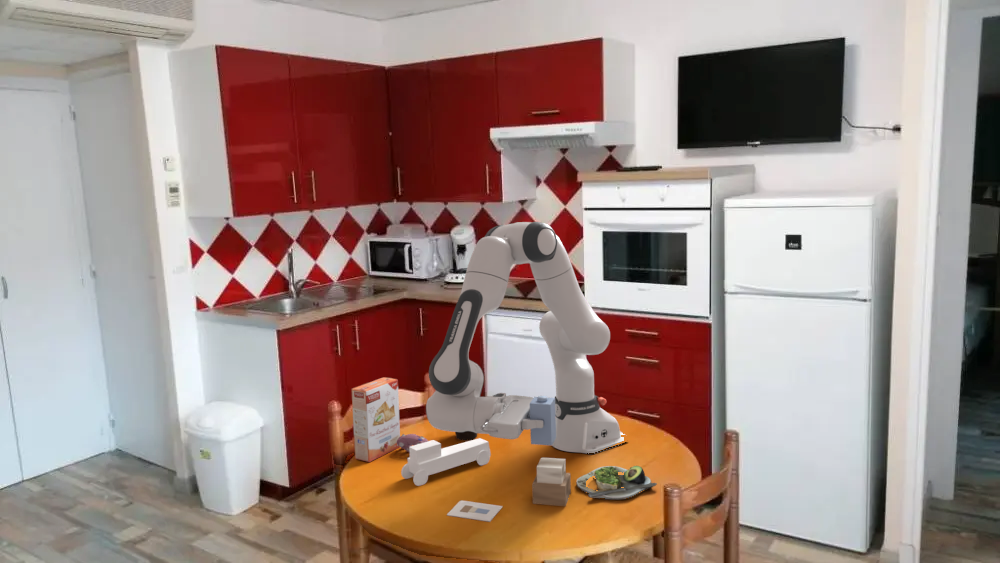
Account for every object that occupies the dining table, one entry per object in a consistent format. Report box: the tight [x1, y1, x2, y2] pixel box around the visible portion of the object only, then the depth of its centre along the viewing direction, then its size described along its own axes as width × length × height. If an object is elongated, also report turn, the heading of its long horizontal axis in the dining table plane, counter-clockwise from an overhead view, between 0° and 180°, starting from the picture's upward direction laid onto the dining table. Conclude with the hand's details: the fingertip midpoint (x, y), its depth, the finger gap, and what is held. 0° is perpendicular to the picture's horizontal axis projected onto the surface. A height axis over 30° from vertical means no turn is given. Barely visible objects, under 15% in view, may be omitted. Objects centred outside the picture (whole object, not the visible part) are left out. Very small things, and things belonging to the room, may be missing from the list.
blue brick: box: [530, 395, 556, 447], centre depth 178 cm, size 5×5×11 cm
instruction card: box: [446, 500, 503, 523], centre depth 178 cm, size 8×11×1 cm
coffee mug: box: [454, 431, 478, 441], centre depth 226 cm, size 12×9×10 cm
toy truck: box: [400, 437, 492, 487], centre depth 202 cm, size 25×7×9 cm, turn 128°
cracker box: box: [351, 376, 401, 463], centre depth 216 cm, size 14×6×21 cm, turn 148°
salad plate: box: [575, 465, 658, 500], centre depth 188 cm, size 19×18×5 cm
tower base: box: [531, 457, 572, 507], centre depth 183 cm, size 8×8×9 cm
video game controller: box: [397, 433, 429, 453], centre depth 216 cm, size 10×5×7 cm, turn 69°
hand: (546, 418), depth 178 cm, fingers closed on blue brick, 5 cm apart
